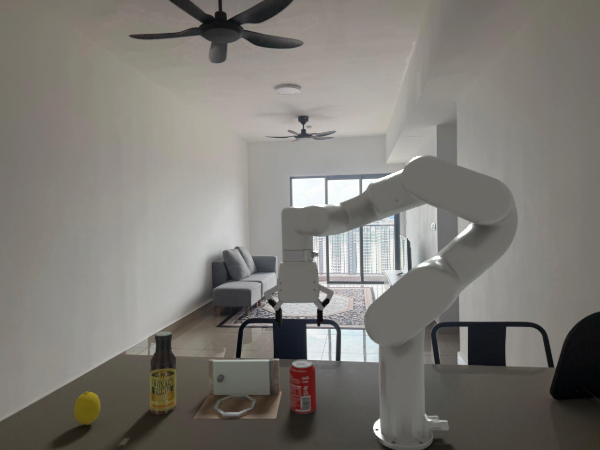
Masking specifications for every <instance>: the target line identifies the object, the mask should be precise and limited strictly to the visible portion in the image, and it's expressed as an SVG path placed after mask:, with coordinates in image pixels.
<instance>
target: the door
mask: <svg viewBox="0 0 600 450" xmlns="http://www.w3.org/2000/svg"><path fill="white" fill-rule="evenodd" d="M213 386H214V395H274V394H275V386H274V360H273V358H272V359H215V360H214V361H213Z"/></svg>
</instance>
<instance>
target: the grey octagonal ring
mask: <svg viewBox="0 0 600 450" xmlns="http://www.w3.org/2000/svg"><path fill="white" fill-rule="evenodd" d="M232 399H246V400H247V401H249V402H251V403H252V404H251V407H250V408H248V409H245V410H243V411H240V412H223V411H222V410H221V409H219V407H220V405H221V404H222V403H225V402H227V401H230V400H232ZM255 405H256V400H255V399H253V398H252V397H250V396H248V395H230V396H228V397H225V398H222V399H220V400H218V401H217V403H216V405H215V407H214V412H216V413H217V414H219V415H220V416H221V417H241V416H244V415H246V414H248V413H251V412H253V411H254V408H255Z"/></svg>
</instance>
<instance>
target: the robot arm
mask: <svg viewBox="0 0 600 450" xmlns="http://www.w3.org/2000/svg"><path fill="white" fill-rule="evenodd" d="M424 205H429V206H431V207H433V208H436V209H439V210H441V211H443V212H446V213H448V214H451V215H454V216H456V217H458V218H460V219H463V220H465V221H467V222H469V223H468V225H466V227H465V228H464V229H463V230H462V231H461V232H460V233H458V235H456V236H455V237H454V238H453V239H452V240H451V241H450V242H449V243H448V244H447V245H445V246H444V247H443V248H442V249H440V250H439V251H438V252H437V253H436V254H434V255H433V256H432V257H429V259H426V260H424V261H423V262H421V263H419V264H417V265H415V266H414V267H412V268H411V269H409V270H408V271H407V272H406V273H405V274H403V276H402V277H400V278H399V279H398V280H397V281H396V282H394V283H393V284H392V285H391V286H390V287H389V288H387V290H385V291H384V292H383V293H382V294H381V295H380V296H378V297H377V298H376V299H375V300H374V301H372V302H371V304H370V305H369V306H368V308H367V309H366V311H365V315H364V319H363V320H364V321H363V323H364V324H363V325H364V330H365V332H366V334H367V335H368V337H369V338H370V340H371V341H372V342H374V343H375V344H377V345H378V384H379V385H378V386H379V387H378V389H379V390H378V391H379V392H378V394H379V398H378V399H379V418H378V420H376V421H375V422H374V424H373V427H372V431H373V434H374V435H375V437H376V440H377V442H379V443H380V444H381V445H383V446H385V447H386V448H389V449H392V450H425V449H427V448H428V447H429V446H430V445H432V443H433V441H434V434H433V432H434V431H449V430H450V429H449V428H450V426H449V422H448V420H447V419H440V418H439V416H438V415H428V414H426V408H425V407H426V402H425V398H426V397H425V395H426V394H425V391H426V390H425V333H426V327H427V326H428V325H430V324H431V323H433V321H435V320H437V319H438V318H439V317H440V316H441V315H442V314H444V313H445V312H446V311H447V310H448V309H449V308H450V307H451V306H452V305H453V304H454V303H455V302H456V300H457V298H459V295H460V294H461V293H462V292H463V291H464V290H465V289H466V288H467V287H469V286H470V284H472V283H474V282H475V281H476V280H477V279H478V278H479V277H480V276H483V275H482V274H484V273H485V272H487V270H488V269H490V268H491V267H492V266H494V264H495V263H497V262H498V261H499V260H500V259H501V258H502V257H503V256H504V255H505V253H507V251H508V250H509V249H510V247H511V246H512V243H513V241H514V240H515V237H516V234H517V229H518V225H519V219H518V216H519V215H518V210H517V209H518V208H517V205H516V202H515V197H514V196H513V192H512V190H511V189H510V188H509V186H508V185H507V184H505V183H504V182H503V181H502V180H500V179H498V178H496V177H493V176H491V175H487V174H484V173H481V172H478V171H475V170H473V169H469V168H466V167H463V166H461V165H458V164H455V163H453V162H450V161H447V160H444V159H442V158H440V157H437V156H435V155H429V154H424V155H423V154H422V155H418V156H416V157H413V158H412V159H411V160H409V161H408V162H407V163H406V164H405V166H404V167H403V169H401V170H399V171H397V172H393V173H391V174H389V175H386V176H384V177H380V178H378V179H376V180H373V181H372V182H371V181H370V183H369V184H368V186H367V187H366V189H365V190H363V192H362V193H359V194H358V195H356V196H354V197H352V198H349V199H347V200H344V201H341V202H339V203H335V204H329V203H328V204H327V203H326V204H325V203H324V204H312V205H307V206H303V205H301V206H299V205H297V206H296V205H295V206H286V207H283V208H282V210H281V213H280V215H281V216H280V217H281V218H280V219H281V223H280V224H281V248H282V249H281V253H282V261H280V262H279V267H278V278H277V284H276V285H275V286H273V287H270V288H269V289H267V290H265V291H264V292H263V296H264V299H265V300H266V301H267V304H268V305H269V306H270V307H272V309H273V310H274V312H275V323H277V328H280V327H282V325H283V309H282V305H284V304H313V305H315V306H316V326H317V327H318V328H320V327H321V323H324V309H325V308H326V307H327V306H328V305H329V304H330V303H331V300H332V297H333V296H334V294H335V293H334V292H335V291H334V290H332V289H330V288H328V287H326V286H324V285H322V284H320V279H319V270H318V264H317V261H316V260H314V259H315V258H319V251H317V250H314V248H313V246H314V245H313V237H318V238H319V237H329V236H336V235H340V234H344V233H347V232H350V231H352V230H355V229H358V228H362V227H364V226H367V225H369V224H372V223H375V222H378V221H382V220H385V219H387V218H390V217H392V216H395V215H398V214H400V213H403V212H406V211H409V210H413V209H415V208H419V207H421V206H424ZM276 292H277V300H278V301H276V300H275V299H274V298H273V297H272V295H273V294H274V293H276ZM320 292H322V293H324V294H326V297H325V298H324V300H321V299H320V298H319V297H320Z"/></svg>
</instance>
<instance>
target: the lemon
mask: <svg viewBox="0 0 600 450" xmlns="http://www.w3.org/2000/svg"><path fill="white" fill-rule="evenodd" d="M73 408H74V409H73V414H74V415H73V416H74V418H75V420H76V421H77V422H78V423H80V424H83V425H86V426H89V425H90V424H91V423H93V422H94V421H95V420H96V419H97V418H98V417H99V415H100V412H101V408H102V407H101V400H100V398H99V396H98V394H97V393H95V392H92V391H85V392H83V393H81V394H80V396H78V398H76V400H75V403H74V406H73Z"/></svg>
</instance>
